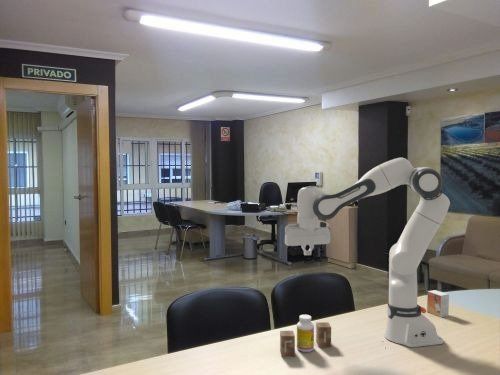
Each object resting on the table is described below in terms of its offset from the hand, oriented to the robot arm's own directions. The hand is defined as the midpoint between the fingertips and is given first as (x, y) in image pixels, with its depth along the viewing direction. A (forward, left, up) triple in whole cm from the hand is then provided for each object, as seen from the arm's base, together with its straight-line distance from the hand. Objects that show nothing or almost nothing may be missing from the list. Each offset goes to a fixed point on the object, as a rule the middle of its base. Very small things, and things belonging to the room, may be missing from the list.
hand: (307, 254), depth 177 cm
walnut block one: (-4, +15, -33) cm, 37 cm away
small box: (-66, -17, -33) cm, 76 cm away
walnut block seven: (+12, +23, -33) cm, 42 cm away
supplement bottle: (+4, +19, -33) cm, 39 cm away
